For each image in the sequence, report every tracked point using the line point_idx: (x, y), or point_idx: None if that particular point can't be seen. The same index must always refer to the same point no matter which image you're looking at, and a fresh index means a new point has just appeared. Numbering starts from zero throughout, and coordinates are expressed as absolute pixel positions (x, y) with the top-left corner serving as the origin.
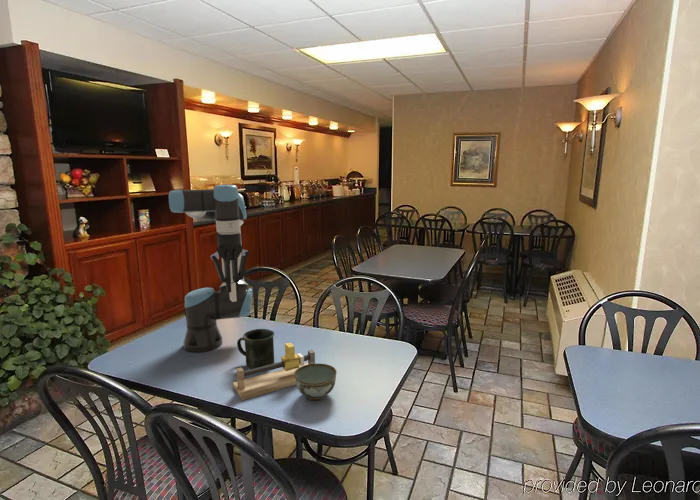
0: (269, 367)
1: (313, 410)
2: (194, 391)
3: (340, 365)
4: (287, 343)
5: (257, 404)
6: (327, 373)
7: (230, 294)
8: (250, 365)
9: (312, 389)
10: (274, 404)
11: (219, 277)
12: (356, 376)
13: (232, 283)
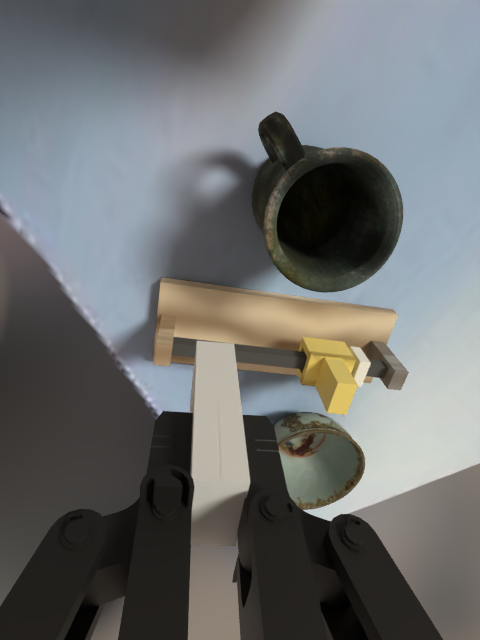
0: (254, 362)
1: None
2: (48, 226)
3: (445, 357)
4: (345, 386)
5: (176, 387)
6: (350, 447)
7: (192, 399)
8: (255, 217)
9: None
10: None
11: (23, 591)
12: (420, 417)
13: (199, 543)
